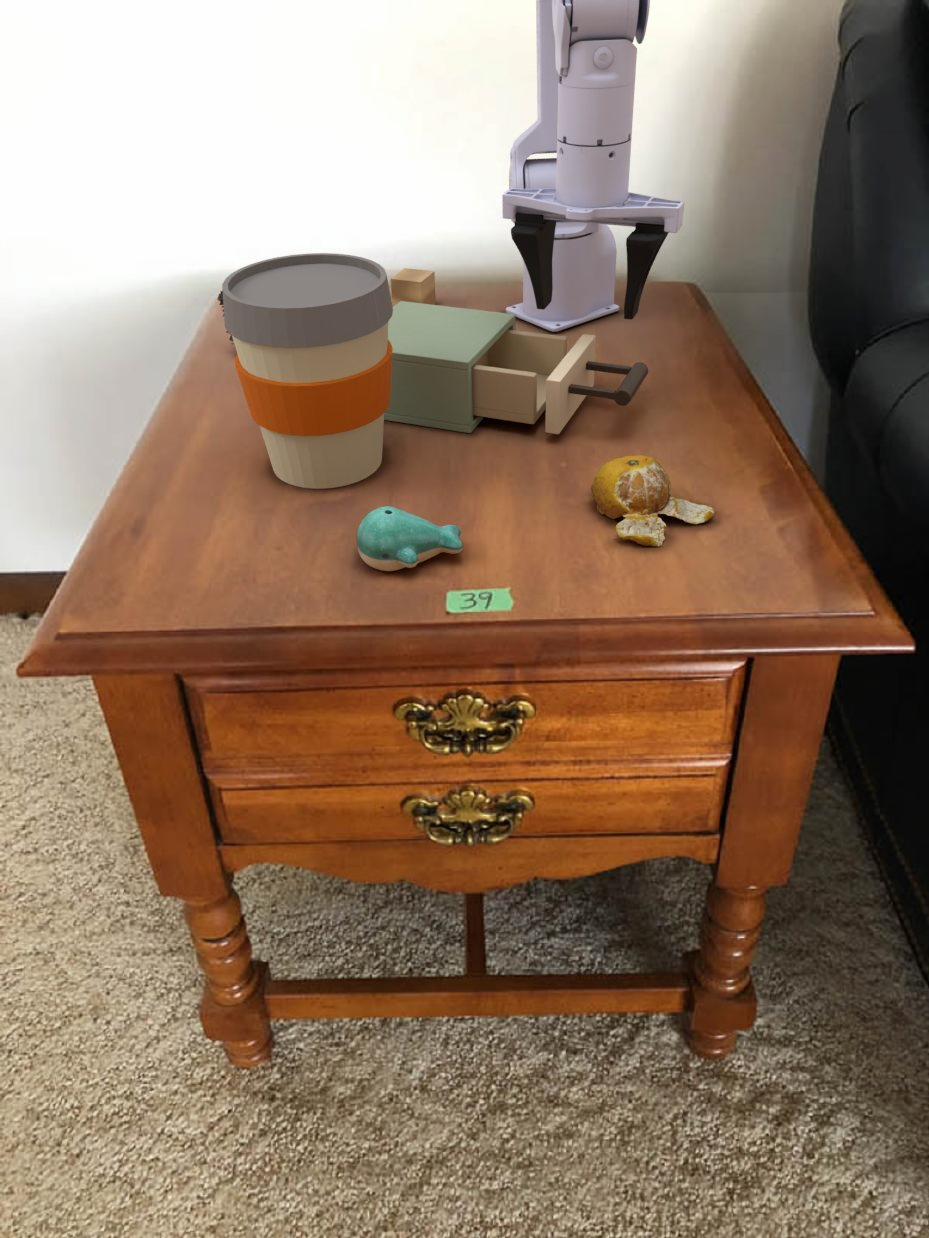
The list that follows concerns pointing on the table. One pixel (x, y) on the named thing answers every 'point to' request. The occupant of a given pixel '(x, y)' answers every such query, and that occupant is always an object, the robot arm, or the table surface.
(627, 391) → the drawer
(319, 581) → the table surface
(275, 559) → the table surface
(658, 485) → the fruit
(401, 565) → the whale figurine
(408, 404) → the cabinet
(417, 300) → the block
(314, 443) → the reusable coffee cup
